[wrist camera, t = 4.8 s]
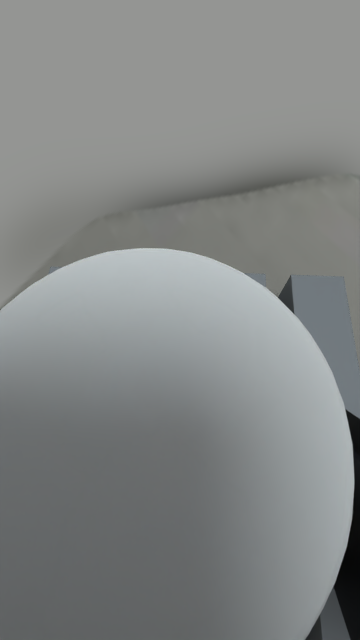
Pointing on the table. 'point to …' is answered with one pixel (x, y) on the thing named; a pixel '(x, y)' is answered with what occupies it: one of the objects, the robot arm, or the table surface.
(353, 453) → the robot arm
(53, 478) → the supplement bottle
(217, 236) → the table surface
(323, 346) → the cup holder
